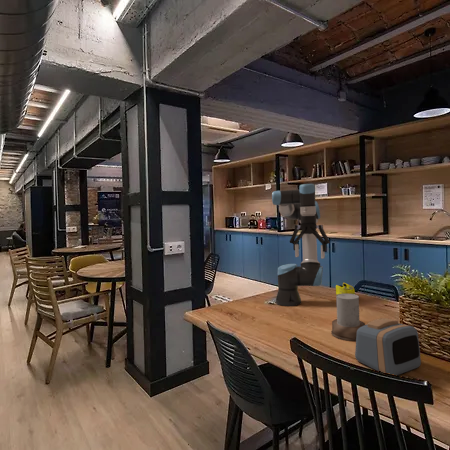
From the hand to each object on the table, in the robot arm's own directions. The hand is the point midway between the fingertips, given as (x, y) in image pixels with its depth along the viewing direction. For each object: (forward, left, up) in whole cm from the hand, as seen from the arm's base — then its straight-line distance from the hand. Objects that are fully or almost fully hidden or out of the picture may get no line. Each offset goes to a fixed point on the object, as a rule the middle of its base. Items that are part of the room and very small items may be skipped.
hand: (309, 257), depth 165 cm
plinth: (+21, -8, -32) cm, 39 cm away
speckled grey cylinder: (+21, -8, -28) cm, 35 cm away
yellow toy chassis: (0, +51, -33) cm, 60 cm away
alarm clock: (+41, -29, -33) cm, 60 cm away
